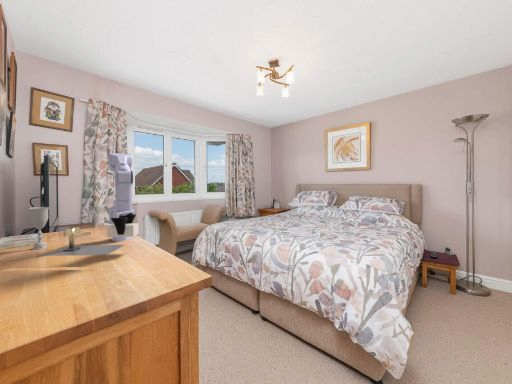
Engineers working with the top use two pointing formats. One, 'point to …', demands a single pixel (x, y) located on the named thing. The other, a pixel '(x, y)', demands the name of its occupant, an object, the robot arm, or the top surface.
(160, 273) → the top surface
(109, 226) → the cover
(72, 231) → the t key
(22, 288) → the top surface
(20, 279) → the top surface
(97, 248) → the plate
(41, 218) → the chalice
